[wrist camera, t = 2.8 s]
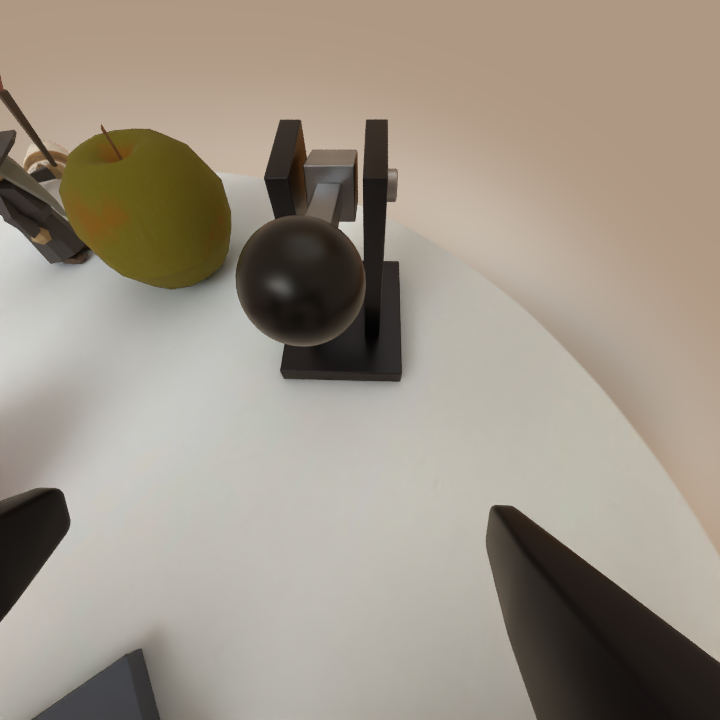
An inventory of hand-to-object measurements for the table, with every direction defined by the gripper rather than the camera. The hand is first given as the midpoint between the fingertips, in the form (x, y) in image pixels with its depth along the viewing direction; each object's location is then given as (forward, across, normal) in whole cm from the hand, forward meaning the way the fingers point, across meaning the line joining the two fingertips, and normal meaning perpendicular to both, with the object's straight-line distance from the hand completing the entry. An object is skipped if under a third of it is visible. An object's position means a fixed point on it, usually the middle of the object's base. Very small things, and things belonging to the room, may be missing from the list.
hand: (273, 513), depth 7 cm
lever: (+9, 0, -5) cm, 10 cm away
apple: (+24, +14, -4) cm, 28 cm away
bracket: (+20, 0, -1) cm, 20 cm away
